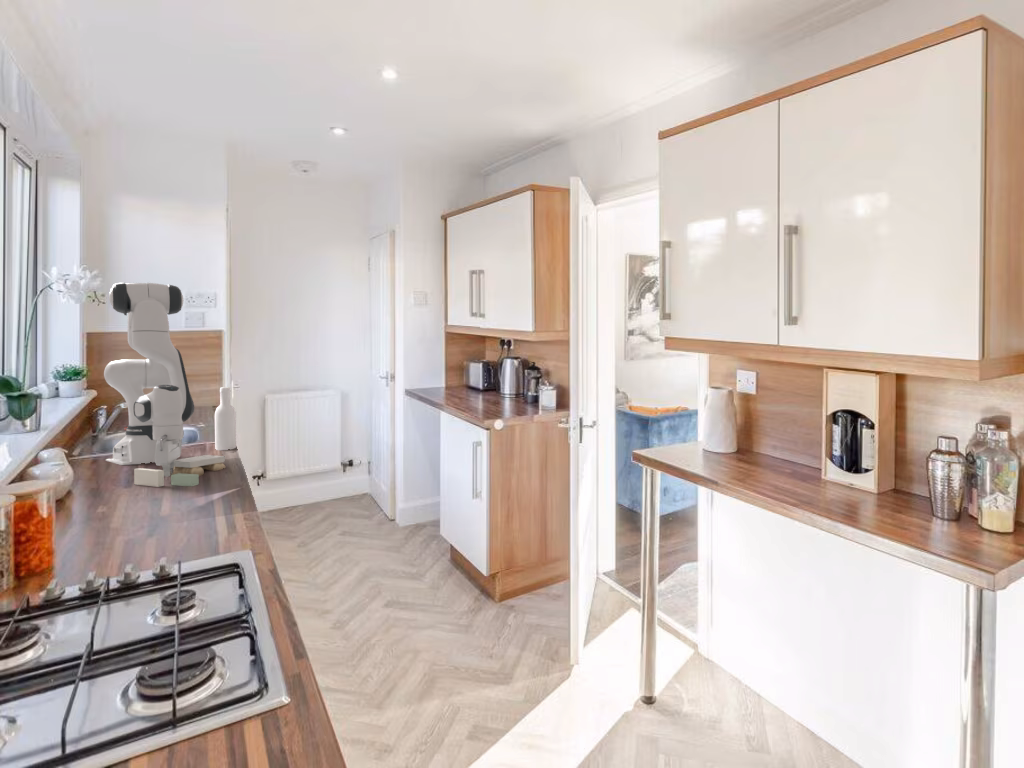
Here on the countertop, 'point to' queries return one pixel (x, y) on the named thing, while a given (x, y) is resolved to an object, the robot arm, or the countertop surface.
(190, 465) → the stone slab
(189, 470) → the rail
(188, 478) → the block
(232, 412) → the bottle
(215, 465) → the rail
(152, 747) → the countertop surface
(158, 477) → the block
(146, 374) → the robot arm
